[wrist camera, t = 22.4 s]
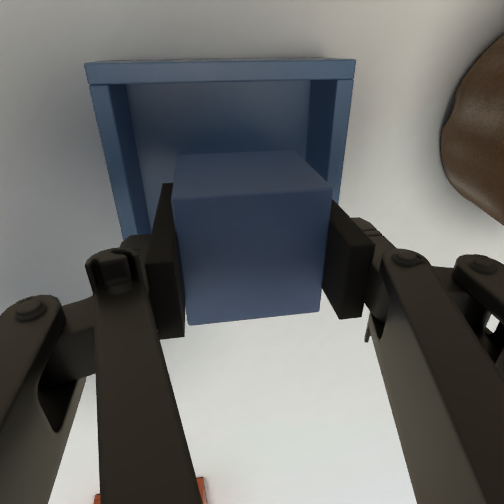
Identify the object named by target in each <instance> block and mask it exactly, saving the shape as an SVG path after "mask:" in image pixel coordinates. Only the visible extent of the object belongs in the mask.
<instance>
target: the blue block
mask: <svg viewBox="0 0 504 504" xmlns="http://www.w3.org/2000/svg"><path fill="white" fill-rule="evenodd" d="M332 195H333V188H332V187H331V186H330V185H329V184H328V183H327V182H326V181H325V180H324V179H323V178H322V177H321V176H320V175H319V174H318V173H317V172H316V171H315V170H314V169H313V168H312V167H311V166H310V165H308V164H307V163H306V162H305V161H304V160H303V159H302V158H301V157H300V156H299V155H298V154H297V153H296V152H295V151H294V150H275V151H254V152H232V153H211V154H190V155H178V156H177V162H176V169H175V176H174V183H173V189H172V196H171V204H172V211H173V219H174V226H175V231H176V235H177V243H178V250H179V257H180V265H181V272H182V280H183V287H184V294H185V306H186V314H187V321H188V324H189V325H190V326H192V325H201V324H210V323H220V322H229V321H238V320H247V319H257V318H266V317H275V316H284V315H294V314H303V313H312V312H318V311H319V308H320V300H321V291H322V282H323V273H324V264H325V256H326V247H327V238H328V230H329V221H330V213H331V204H332Z"/></svg>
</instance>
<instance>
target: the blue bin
mask: <svg viewBox="0 0 504 504" xmlns="http://www.w3.org/2000/svg"><path fill="white" fill-rule="evenodd" d="M355 64H356V60H355V59H339V58H265V59H191V60H117V61H100V62H90V63H85V64H84V67H85V71H86V76H87V80H88V83H89V85H90V86H89V89H90V93H91V98H92V102H93V106H94V111H95V115H96V120H97V124H98V129H99V133H100V137H101V142H102V146H103V151H104V155H105V160H106V164H107V169H108V173H109V177H110V182H111V186H112V191H113V195H114V200H115V204H116V208H117V213H118V217H119V222H120V226H121V231H122V235H123V240H125V239H126V238H128V237H129V236H130V235H142V234H151V233H152V228H153V224H154V219H155V215H156V210H157V206H158V202H159V197H160V193H161V188H162V184H163V183H174V176H175V169H176V162H177V156H178V155H190V154H211V153H232V152H254V151H275V150H294V151H295V152H296V153H297V154H298V155H299V156H300V157H301V158H302V159H303V160H304V161H305V162H306V163H307V164H308V165H310V166H311V167H312V168H313V169H314V170H315V171H316V172H317V173H318V174H319V175H320V176H321V177H322V178H323V179H324V180H325V181H326V182H327V183H328V184H329V185H330V186H331V187H332V188H333V195H332V199H333V200H334V201H335V202H336V203H337V204H338V201H339V193H340V185H341V177H342V169H343V161H344V153H345V145H346V137H347V129H348V121H349V113H350V105H351V98H352V90H353V82H354V80H353V78H354V72H355Z"/></svg>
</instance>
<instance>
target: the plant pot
mask: <svg viewBox="0 0 504 504" xmlns="http://www.w3.org/2000/svg"><path fill="white" fill-rule="evenodd" d="M441 157H442V162H443V166H444V170H445V172H446V175H447V177H448V179H449V181H450V182H451V184H452V185H453V187H454V188H455V189H456V190H457V191H458V192H459V193H460V194H461V195H462V196H463V197H465V198H466V199H468V200H469V201H471V202H472V203H474V204H475V205H476V206H478V207H479V208H480V209H482V210H483V211H485V212H486V213H487V214H489V215H490V216H491V217H493V218H494V219H495V220H497V221H498V222H500V223H501V224H502V225H504V35H502V36H501V37H500V38H499V39H498V40H497V41H496V42H495V43H493V44H492V45H491V46H490V47H489V48H488V49H487V50H486V51H485V52H484V53H483V54H482V55H481V57H480V58H479V59H478V60H477V61H476V62H475V64H474V65H473V66H472V67H471V69H470V70H469V72H468V73H467V74H466V76H465V77H464V78H463V80H462V82H461V84H460V86H459V87H458V89H457V91H456V93H455V104H454V108H453V110H452V113H451V115H450V118H449V120H448V122H447V123H446V124H445V126H444V127H443V130H442V137H441Z"/></svg>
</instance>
